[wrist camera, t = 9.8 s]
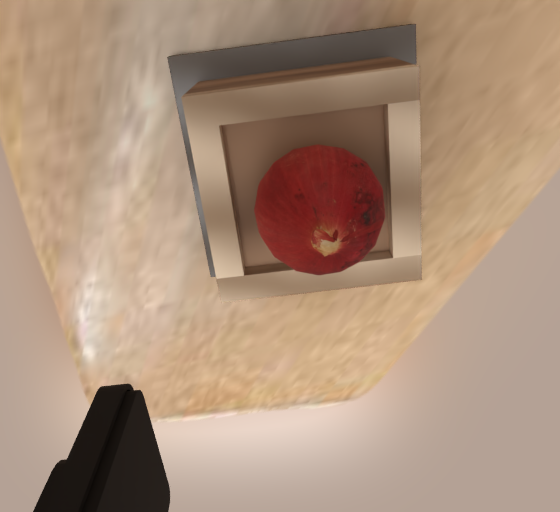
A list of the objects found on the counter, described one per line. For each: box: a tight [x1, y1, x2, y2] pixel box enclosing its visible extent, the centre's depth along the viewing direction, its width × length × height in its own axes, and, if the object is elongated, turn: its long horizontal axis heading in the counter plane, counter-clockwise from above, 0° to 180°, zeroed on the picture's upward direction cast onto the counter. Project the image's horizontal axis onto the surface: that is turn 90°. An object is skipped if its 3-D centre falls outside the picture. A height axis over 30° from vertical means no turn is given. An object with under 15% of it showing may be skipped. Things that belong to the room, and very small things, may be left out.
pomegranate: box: [254, 144, 385, 275], centre depth 23 cm, size 6×6×8 cm
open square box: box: [167, 24, 422, 303], centre depth 30 cm, size 14×14×8 cm
